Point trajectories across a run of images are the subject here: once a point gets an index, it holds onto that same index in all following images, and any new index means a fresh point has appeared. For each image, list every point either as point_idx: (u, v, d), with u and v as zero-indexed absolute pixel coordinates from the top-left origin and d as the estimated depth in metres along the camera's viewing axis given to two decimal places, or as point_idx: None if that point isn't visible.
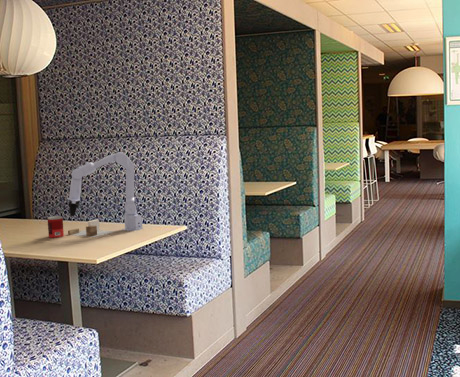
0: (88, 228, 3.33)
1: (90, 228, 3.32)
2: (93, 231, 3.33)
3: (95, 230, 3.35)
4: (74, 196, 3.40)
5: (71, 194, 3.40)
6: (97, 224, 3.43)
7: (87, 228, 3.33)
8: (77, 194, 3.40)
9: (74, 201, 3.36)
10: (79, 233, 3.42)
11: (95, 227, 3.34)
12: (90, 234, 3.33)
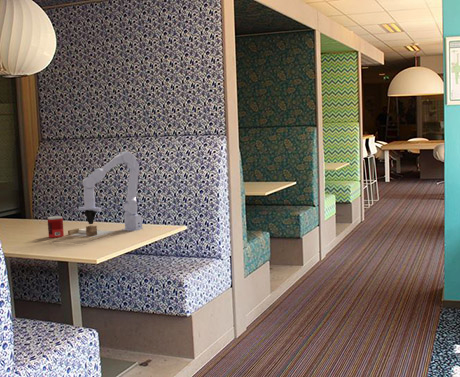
0: (88, 228, 3.33)
1: (90, 228, 3.32)
2: (93, 231, 3.33)
3: (95, 230, 3.35)
4: (93, 204, 3.40)
5: (90, 203, 3.38)
6: None
7: (87, 228, 3.33)
8: (94, 202, 3.41)
9: (100, 209, 3.38)
10: (79, 233, 3.42)
11: (95, 227, 3.34)
12: (90, 234, 3.33)
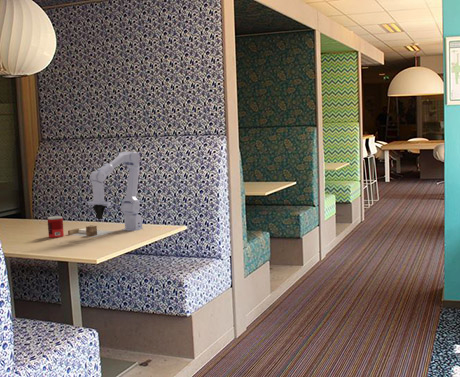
0: (88, 228, 3.33)
1: (90, 228, 3.32)
2: (93, 231, 3.33)
3: (95, 230, 3.35)
4: (102, 199, 3.29)
5: (99, 198, 3.28)
6: None
7: (87, 228, 3.33)
8: None
9: (110, 203, 3.28)
10: (79, 233, 3.42)
11: (95, 227, 3.34)
12: (90, 234, 3.33)
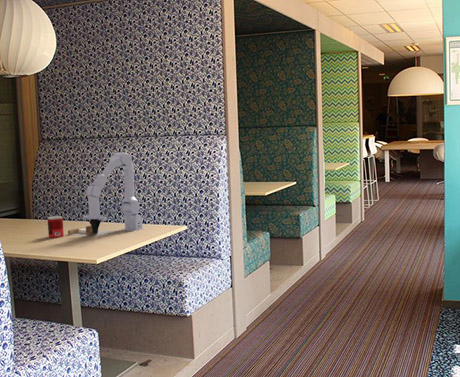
0: (88, 228, 3.33)
1: (90, 228, 3.32)
2: (92, 231, 3.33)
3: None
4: (98, 213, 3.31)
5: (95, 212, 3.30)
6: None
7: (87, 228, 3.33)
8: (99, 211, 3.32)
9: (106, 218, 3.29)
10: (79, 233, 3.42)
11: None
12: (90, 234, 3.33)
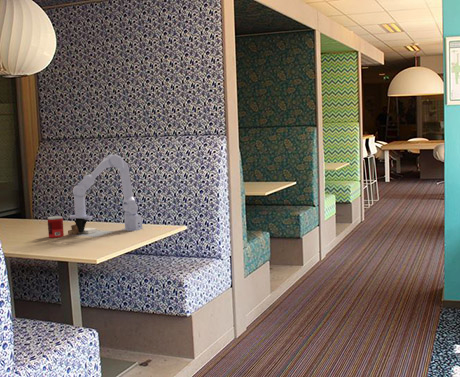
0: (73, 226, 3.38)
1: (75, 225, 3.38)
2: None
3: None
4: (84, 213, 3.36)
5: (81, 212, 3.35)
6: (88, 228, 3.46)
7: (72, 227, 3.39)
8: (85, 210, 3.37)
9: (91, 217, 3.34)
10: (79, 233, 3.42)
11: None
12: (76, 231, 3.38)
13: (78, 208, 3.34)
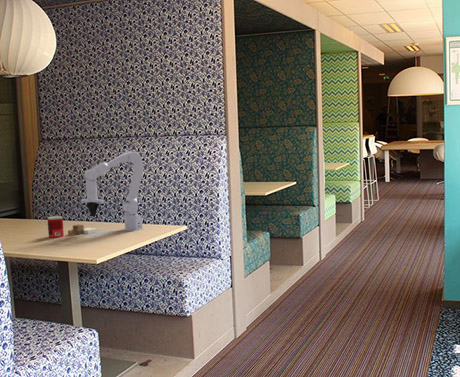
0: (75, 227, 3.38)
1: (77, 227, 3.37)
2: (79, 230, 3.38)
3: (82, 228, 3.40)
4: (96, 197, 3.38)
5: (93, 196, 3.37)
6: (88, 228, 3.46)
7: (74, 227, 3.38)
8: None
9: (103, 201, 3.37)
10: None
11: (82, 226, 3.40)
12: (77, 233, 3.38)
13: (90, 192, 3.36)
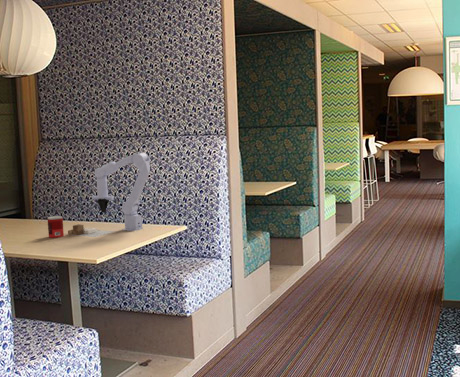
0: (75, 227, 3.38)
1: (77, 227, 3.37)
2: (79, 230, 3.38)
3: (82, 228, 3.40)
4: (106, 193, 3.51)
5: (103, 192, 3.50)
6: (88, 228, 3.46)
7: (74, 227, 3.38)
8: (107, 191, 3.53)
9: (113, 197, 3.50)
10: None
11: (82, 226, 3.40)
12: (77, 233, 3.38)
13: (101, 189, 3.50)
